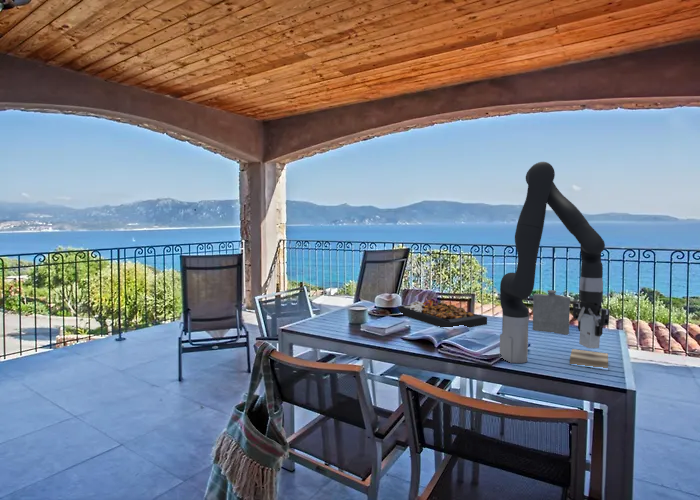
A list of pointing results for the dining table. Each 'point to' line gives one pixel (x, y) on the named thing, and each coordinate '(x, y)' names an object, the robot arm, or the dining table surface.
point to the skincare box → (588, 332)
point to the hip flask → (551, 313)
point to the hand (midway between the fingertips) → (589, 333)
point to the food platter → (441, 314)
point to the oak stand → (589, 358)
